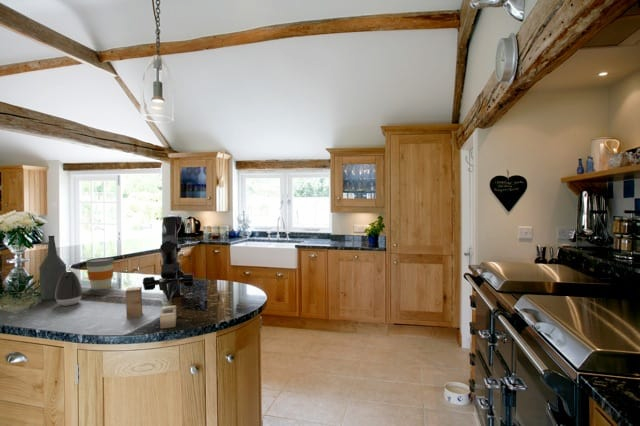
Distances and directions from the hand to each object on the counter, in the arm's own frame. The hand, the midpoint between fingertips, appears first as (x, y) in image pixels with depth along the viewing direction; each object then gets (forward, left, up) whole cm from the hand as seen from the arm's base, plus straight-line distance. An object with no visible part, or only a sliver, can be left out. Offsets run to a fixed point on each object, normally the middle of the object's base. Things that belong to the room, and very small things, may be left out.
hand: (168, 300), depth 139 cm
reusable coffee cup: (-77, -6, -8) cm, 78 cm away
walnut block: (-15, -8, -8) cm, 19 cm away
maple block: (-2, +1, -5) cm, 6 cm away
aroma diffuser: (-53, -24, -8) cm, 59 cm away
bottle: (-72, -27, -8) cm, 77 cm away
